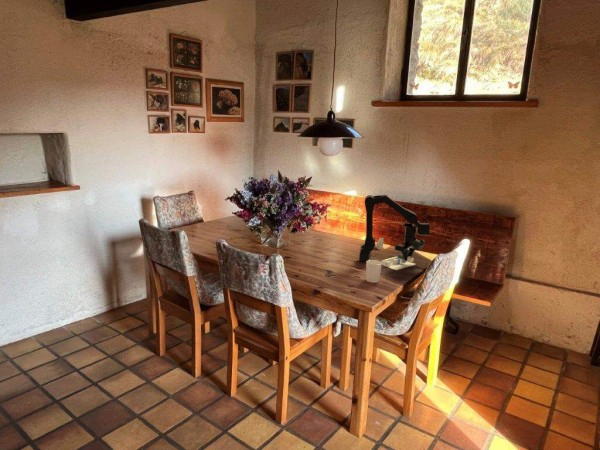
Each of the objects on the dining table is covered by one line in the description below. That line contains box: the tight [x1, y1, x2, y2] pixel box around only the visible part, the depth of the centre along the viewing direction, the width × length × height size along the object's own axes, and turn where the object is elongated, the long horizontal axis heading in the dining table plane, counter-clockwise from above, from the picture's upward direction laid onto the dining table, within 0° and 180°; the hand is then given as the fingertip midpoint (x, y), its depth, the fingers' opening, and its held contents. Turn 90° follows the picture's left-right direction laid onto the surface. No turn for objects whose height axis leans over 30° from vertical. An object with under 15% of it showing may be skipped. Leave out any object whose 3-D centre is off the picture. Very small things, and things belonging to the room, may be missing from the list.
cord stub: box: [397, 253, 415, 263], centre depth 247 cm, size 3×10×3 cm, turn 39°
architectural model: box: [375, 237, 384, 251], centre depth 280 cm, size 3×7×7 cm, turn 145°
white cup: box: [365, 259, 383, 284], centre depth 221 cm, size 8×8×10 cm
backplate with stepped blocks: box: [380, 255, 416, 271], centre depth 246 cm, size 18×11×4 cm, turn 129°
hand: (407, 260), depth 246 cm, fingers closed on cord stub, 3 cm apart
